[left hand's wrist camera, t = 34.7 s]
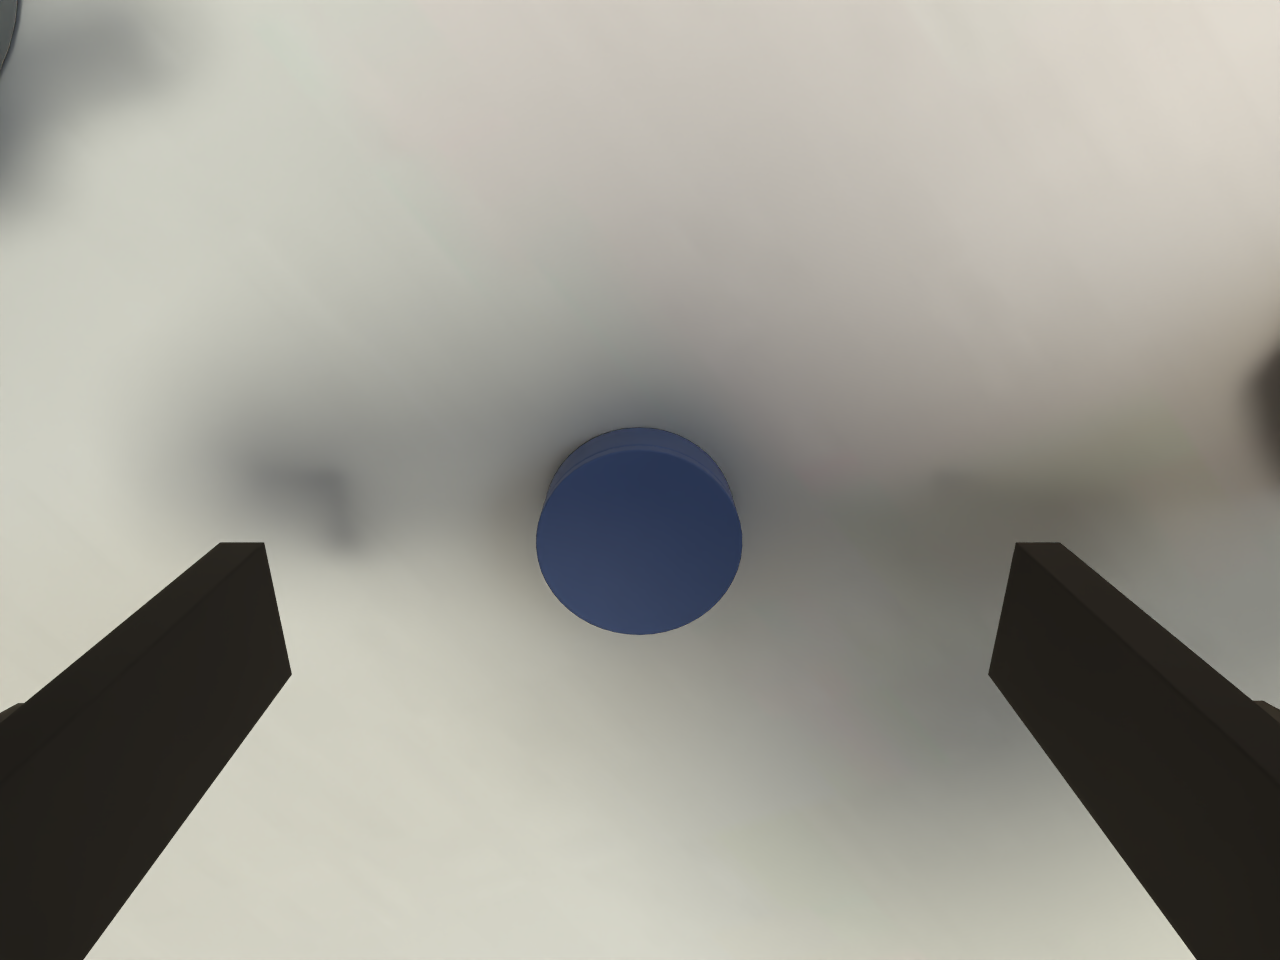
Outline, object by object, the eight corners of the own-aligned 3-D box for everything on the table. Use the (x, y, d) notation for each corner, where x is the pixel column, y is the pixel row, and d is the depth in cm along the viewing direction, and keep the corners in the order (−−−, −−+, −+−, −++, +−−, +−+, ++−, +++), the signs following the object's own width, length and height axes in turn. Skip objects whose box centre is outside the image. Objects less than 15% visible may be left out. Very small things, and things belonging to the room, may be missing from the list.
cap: (640, 630, 18) (640, 669, 16) (505, 517, 16) (493, 548, 15) (772, 515, 16) (785, 546, 15) (638, 385, 15) (637, 406, 14)
